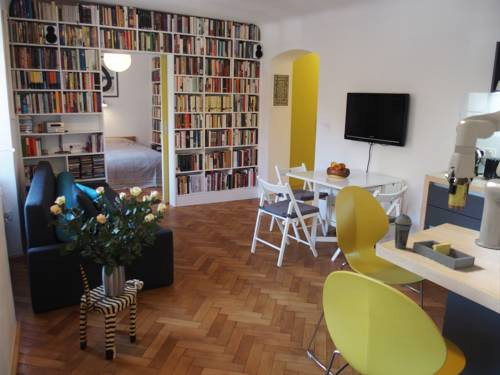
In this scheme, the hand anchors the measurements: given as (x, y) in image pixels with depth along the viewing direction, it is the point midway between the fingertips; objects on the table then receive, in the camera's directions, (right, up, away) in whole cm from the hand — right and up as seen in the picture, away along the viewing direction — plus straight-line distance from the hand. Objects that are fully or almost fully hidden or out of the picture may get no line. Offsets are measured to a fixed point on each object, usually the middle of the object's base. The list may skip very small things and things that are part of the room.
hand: (458, 193), depth 170 cm
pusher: (-6, -26, +6) cm, 27 cm away
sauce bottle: (0, -7, +1) cm, 7 cm away
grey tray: (-5, -28, +4) cm, 28 cm away
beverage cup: (-18, -25, +16) cm, 35 cm away
